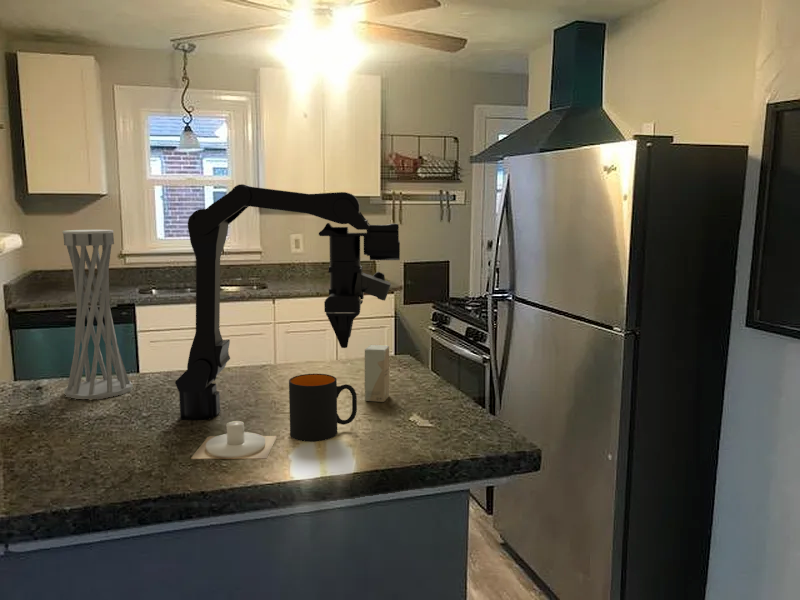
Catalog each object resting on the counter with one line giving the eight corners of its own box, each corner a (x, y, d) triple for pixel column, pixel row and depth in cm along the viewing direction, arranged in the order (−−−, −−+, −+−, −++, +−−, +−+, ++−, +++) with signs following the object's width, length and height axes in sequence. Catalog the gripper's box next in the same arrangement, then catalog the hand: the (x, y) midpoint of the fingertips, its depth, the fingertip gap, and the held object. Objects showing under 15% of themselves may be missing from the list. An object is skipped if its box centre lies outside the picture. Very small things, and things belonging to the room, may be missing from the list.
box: (384, 402, 135) (384, 350, 133) (364, 401, 135) (363, 349, 134) (389, 395, 140) (389, 344, 138) (370, 394, 140) (370, 344, 139)
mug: (362, 439, 114) (362, 382, 112) (294, 447, 110) (292, 387, 108) (351, 424, 121) (350, 370, 120) (286, 431, 118) (285, 375, 116)
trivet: (190, 462, 103) (190, 458, 103) (208, 439, 113) (208, 436, 113) (266, 461, 104) (266, 458, 103) (277, 439, 113) (277, 436, 113)
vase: (117, 379, 152) (108, 228, 147) (143, 390, 143) (133, 230, 137) (55, 391, 142) (42, 230, 137) (78, 404, 133) (65, 232, 128)
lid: (198, 458, 104) (197, 434, 103) (214, 436, 113) (213, 414, 112) (259, 458, 104) (258, 433, 103) (270, 436, 113) (269, 414, 113)
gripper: (388, 265, 112) (388, 353, 114) (388, 256, 130) (388, 332, 133) (323, 265, 112) (324, 353, 114) (332, 256, 130) (333, 332, 133)
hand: (345, 342), depth 123 cm, fingers open, 9 cm apart
